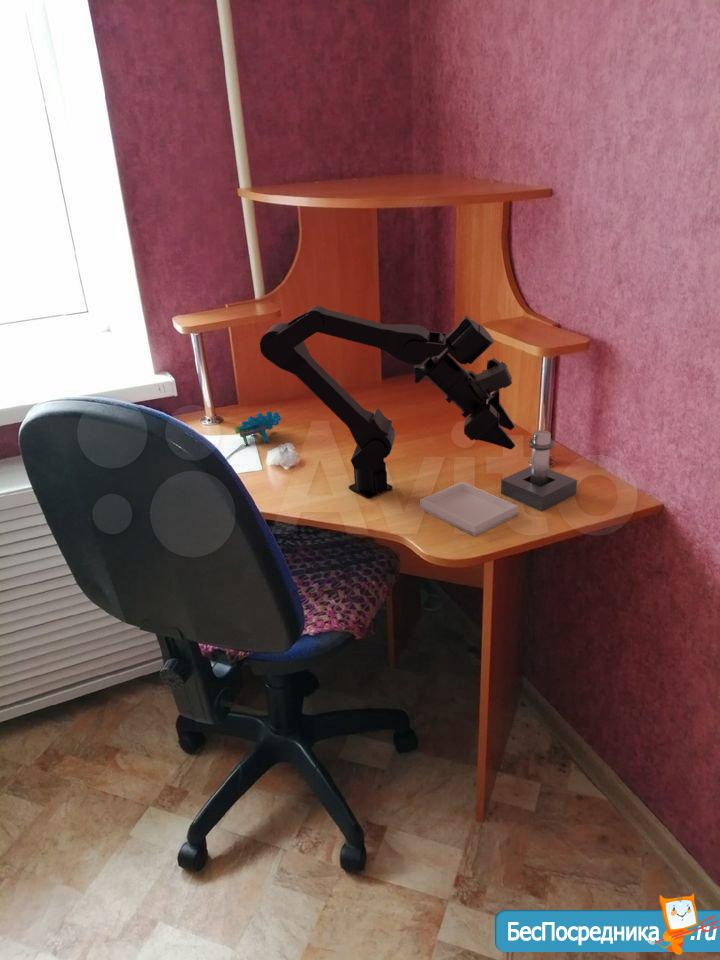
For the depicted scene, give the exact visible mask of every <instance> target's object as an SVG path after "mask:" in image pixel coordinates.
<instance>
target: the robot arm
mask: <svg viewBox="0 0 720 960" xmlns="http://www.w3.org/2000/svg"><path fill="white" fill-rule="evenodd" d="M316 333H319V334H324V335H327V336H332V337H334V338H338V339H343V340H346V341H351V342H355V343H358V344H361V345H366V346H369V347H373V348H377V349H379V350H381V351H384V352H385V353H386V354H388V355H389V356H391V357H393V358H394V359H397V360H398V361H400V362H403V363H405V364H408V365H410V366H413V371H414V383H416V384H418V383H419V382H420V381H421V380H423V379H424V378H425V377H426V379H428V381H430V382H431V383H432V384H433V385H434V386H435V387H436V388H437V389H438V390H440V391H441V393H443V394H444V396H445V401H446V402H447V403H448V404H450V403H451V402H452V403H453V404H454V405H455V406H456V407H457V408H459V409H460V411H461V415H462V417H463V418H464V425H463V434H464V435H465V436H466V437H467V438H468V439H469V440H470V441H481V442H485V443H489V444H493V445H495V446H498V447H502V448H505V449H507V450H513V449H514V448H515V447H516V444H515V443H514V441H513V440H512V438H511V437H510V436H509V435H508V433H507V432H506V431H505V429H507V430H509V431H512V430H513V429H514V428H515V424H514V423H513V421H512V420H511V418H510V416H509V415H508V413H507V412H506V410H505V408H504V406H503V405H502V404H501V402H500V389H503V388H504V389H505V388H508V387H510V386H511V385H512V383H513V381H512V379H513V378H512V375H511V373H510V371H509V369H508V365H507V364H506V363H505V362H504V361H501V362H500V361H499V360H497V359H496V358H495V357H494V358H491V359H489V360H487V362H486V369H482V371H481V372H480V373H478V374H476V373H475V372H474V371H473V370H470V369H469V370H466V369H465V368H463V366H462V365H465V366H466V365H467V364H469V365H472V364H473V363H474V362H475V361H476V360H477V359H478V358H480V356H481V355H482V354H484V353H485V351H486V350H488V348H490V347H491V346H492V345H493V344H494V343H495V340H494V338H493V337H492V336H491V334H490V333H489V331H487V329H486V328H485V327H484V326H483V325H481V324H479V323H478V322H476V321H475V320H473V319H471V318H470V317H469V316H468V315H465V316H464V317H463V318H462V319H461V320H460V321H459V323H458V324H457V325H456V326H455V327H454V328H453V329H452V331H450V332H449V334H448V333H447V332H439V331H431V330H430V331H429V330H428V329H427V328H426V327H425V326H422V325H417V324H408V323H407V324H405V323H398V324H397V323H396V324H394V323H393V324H386V323H380V322H377V321H373V320H370V319H366V318H361V317H357V316H354V315H350V314H346V313H342V312H338V311H335V310H332V309H328V308H327V309H326V308H325V307H323V306H320V305H315V306H312V307H311V308H310V309H308V311H306V312H305V313H302V314H301V315H299V316H297V317H295V318H294V319H292V320H290V321H288V322H279V323H275V324H274V325H273V326H271V327H270V328H269V329H268V330H267V332H265V334H263V336H261V338H260V341H259V349H260V350H259V351H260V353H261V355H262V356H263V358H265V359H266V360H267V361H268V362H270V363H271V364H272V365H274V366H276V367H277V368H278V369H280V370H282V371H285V372H287V373H290V374H292V375H294V376H295V377H296V378H297V379H298V380H299V381H301V383H303V384H304V385H305V386H306V387H307V389H308V390H309V391H311V392H312V393H313V394H314V395H315V396H316V397H317V399H319V400H320V401H321V402H322V403H323V404H324V405H325V406H326V407H327V408H328V409H329V410H330V411H331V412H332V413H333V414H334V415H335V416H336V417H337V418H338V419H339V420H340V421H341V422H342V423H344V424H345V426H346V427H347V428H348V430H349V433H350V434H351V436H352V438H353V440H354V442H355V444H356V446H355V449H354V451H353V454H352V457H351V459H350V462H351V464H352V468H353V475H354V483H353V484H350V485H348V489H349V490H351V491H353V492H354V493H357V494H358V495H361V496H362V497H364V498H366V499H372V498H374V497H376V496H378V495H381V494H384V493H386V492H389V491H390V490H393V487H394V486H393V485H391V484H389V483H388V472H387V467H386V466H387V464H386V462H385V459H386V458H387V457H388V456H389V455H390V454H391V452H392V448H393V445H394V443H395V442H394V441H395V439H396V433H395V432H396V431H395V428H394V427H393V426H392V425H393V421H392V420H390V419H388V418H387V417H386V416H385V415H384V414H383V412H382V411H381V410H380V409H379V408H376V409H375V411H374V412H371V411H369V410H366V409H365V408H363V406H361V405H360V404H359V403H358V402H357V400H355V398H353V397H352V396H351V394H349V393H348V392H347V391H346V390H345V389H344V388H343V387H342V386H341V384H339V383H338V381H336V380H335V379H334V378H333V376H331V375H330V374H329V373H328V371H326V370H325V369H324V368H323V367H322V366H321V365H320V364H319V363H318V362H317V361H316V360H315V359H314V358H313V357H312V356H311V354H310V352H309V350H308V347H307V345H306V343H305V340H307V339H308V338H310V337H312V336H313V335H314V334H316ZM421 363H422V364H421Z"/></svg>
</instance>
